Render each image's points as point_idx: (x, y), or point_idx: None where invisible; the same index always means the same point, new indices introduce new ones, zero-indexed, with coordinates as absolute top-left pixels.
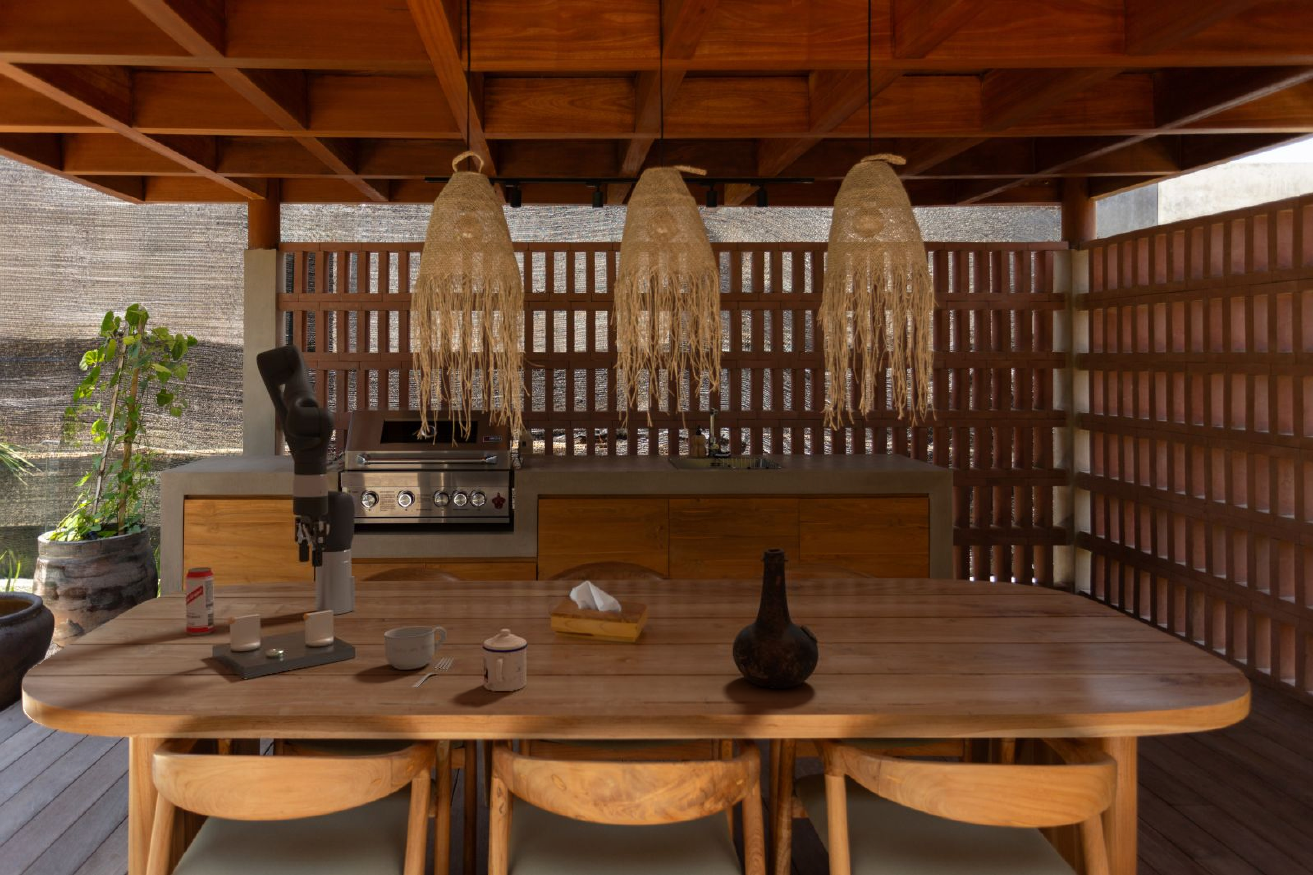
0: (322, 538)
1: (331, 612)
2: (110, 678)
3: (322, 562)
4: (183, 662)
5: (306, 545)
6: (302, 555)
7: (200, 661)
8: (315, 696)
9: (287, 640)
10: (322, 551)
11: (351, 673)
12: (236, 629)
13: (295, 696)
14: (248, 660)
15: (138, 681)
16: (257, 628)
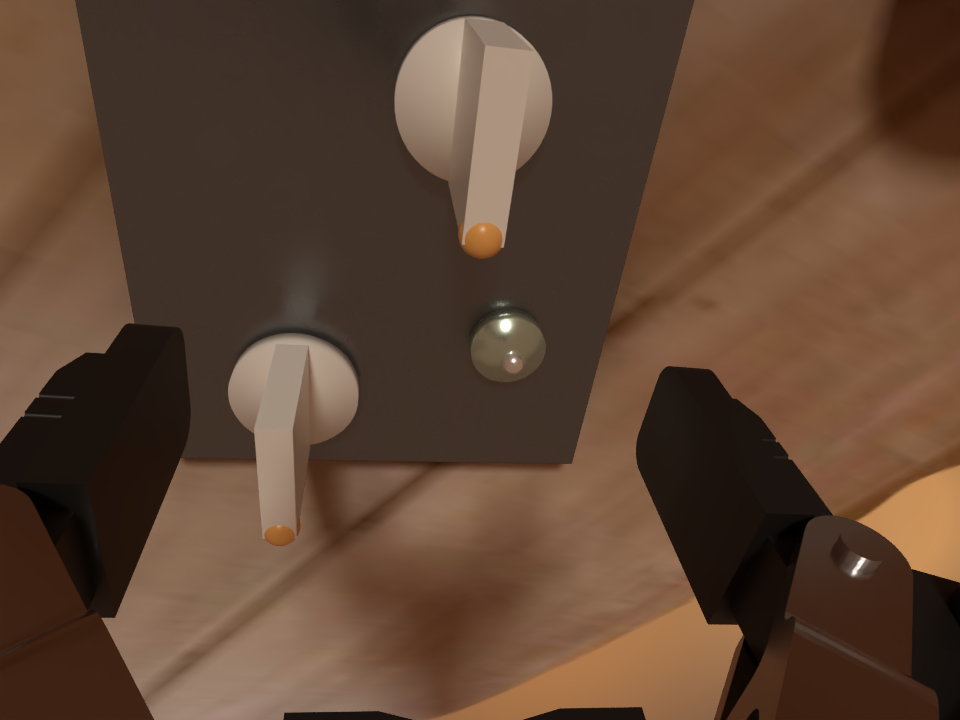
0: (914, 703)
1: (530, 65)
2: (249, 650)
3: (722, 386)
4: (192, 506)
5: (69, 529)
6: (164, 463)
7: (216, 468)
8: (911, 348)
9: (281, 197)
10: (802, 497)
11: (848, 135)
12: (301, 483)
13: (850, 387)
14: (492, 428)
15: (334, 614)
16: (301, 396)
